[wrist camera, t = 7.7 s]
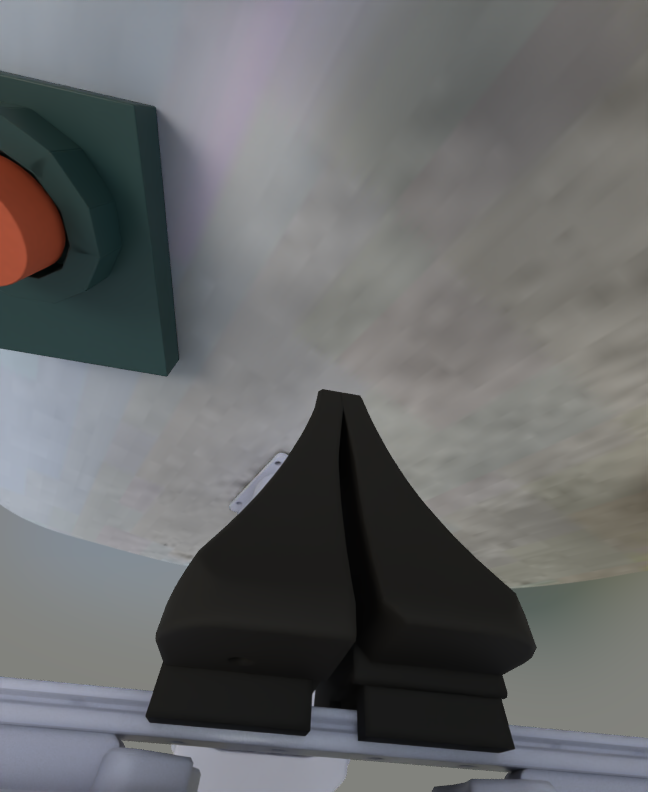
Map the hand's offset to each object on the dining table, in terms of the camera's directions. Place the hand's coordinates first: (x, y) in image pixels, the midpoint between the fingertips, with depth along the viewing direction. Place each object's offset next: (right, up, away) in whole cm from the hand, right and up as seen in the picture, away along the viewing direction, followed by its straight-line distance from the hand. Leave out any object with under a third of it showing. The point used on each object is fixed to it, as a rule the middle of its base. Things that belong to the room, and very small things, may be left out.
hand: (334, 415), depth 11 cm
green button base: (-14, +9, +7) cm, 18 cm away
